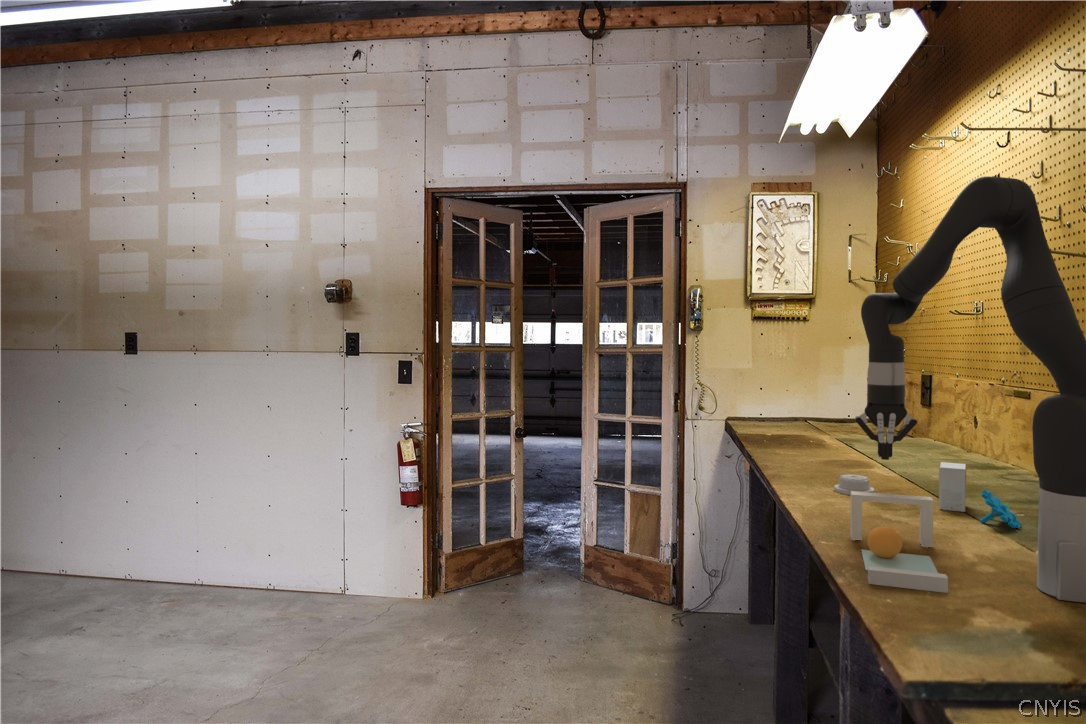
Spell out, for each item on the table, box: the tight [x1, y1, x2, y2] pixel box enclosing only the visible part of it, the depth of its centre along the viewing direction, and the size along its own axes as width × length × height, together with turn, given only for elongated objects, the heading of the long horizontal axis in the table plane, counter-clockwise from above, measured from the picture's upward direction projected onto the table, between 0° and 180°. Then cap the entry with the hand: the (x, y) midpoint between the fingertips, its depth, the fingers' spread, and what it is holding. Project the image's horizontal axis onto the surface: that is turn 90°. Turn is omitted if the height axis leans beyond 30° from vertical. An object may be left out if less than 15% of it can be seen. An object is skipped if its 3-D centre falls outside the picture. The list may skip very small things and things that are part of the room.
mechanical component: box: [833, 474, 875, 496], centre depth 183 cm, size 10×4×10 cm
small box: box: [938, 461, 967, 513], centre depth 166 cm, size 8×6×10 cm
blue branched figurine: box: [979, 489, 1022, 529], centre depth 152 cm, size 11×6×10 cm
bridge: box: [850, 491, 935, 549], centre depth 140 cm, size 3×15×10 cm, turn 68°
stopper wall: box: [867, 566, 949, 594], centre depth 116 cm, size 2×12×2 cm, turn 68°
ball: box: [867, 525, 903, 558], centre depth 131 cm, size 6×6×6 cm
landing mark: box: [860, 549, 939, 574], centre depth 127 cm, size 12×12×1 cm
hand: (885, 459), depth 151 cm, fingers closed
